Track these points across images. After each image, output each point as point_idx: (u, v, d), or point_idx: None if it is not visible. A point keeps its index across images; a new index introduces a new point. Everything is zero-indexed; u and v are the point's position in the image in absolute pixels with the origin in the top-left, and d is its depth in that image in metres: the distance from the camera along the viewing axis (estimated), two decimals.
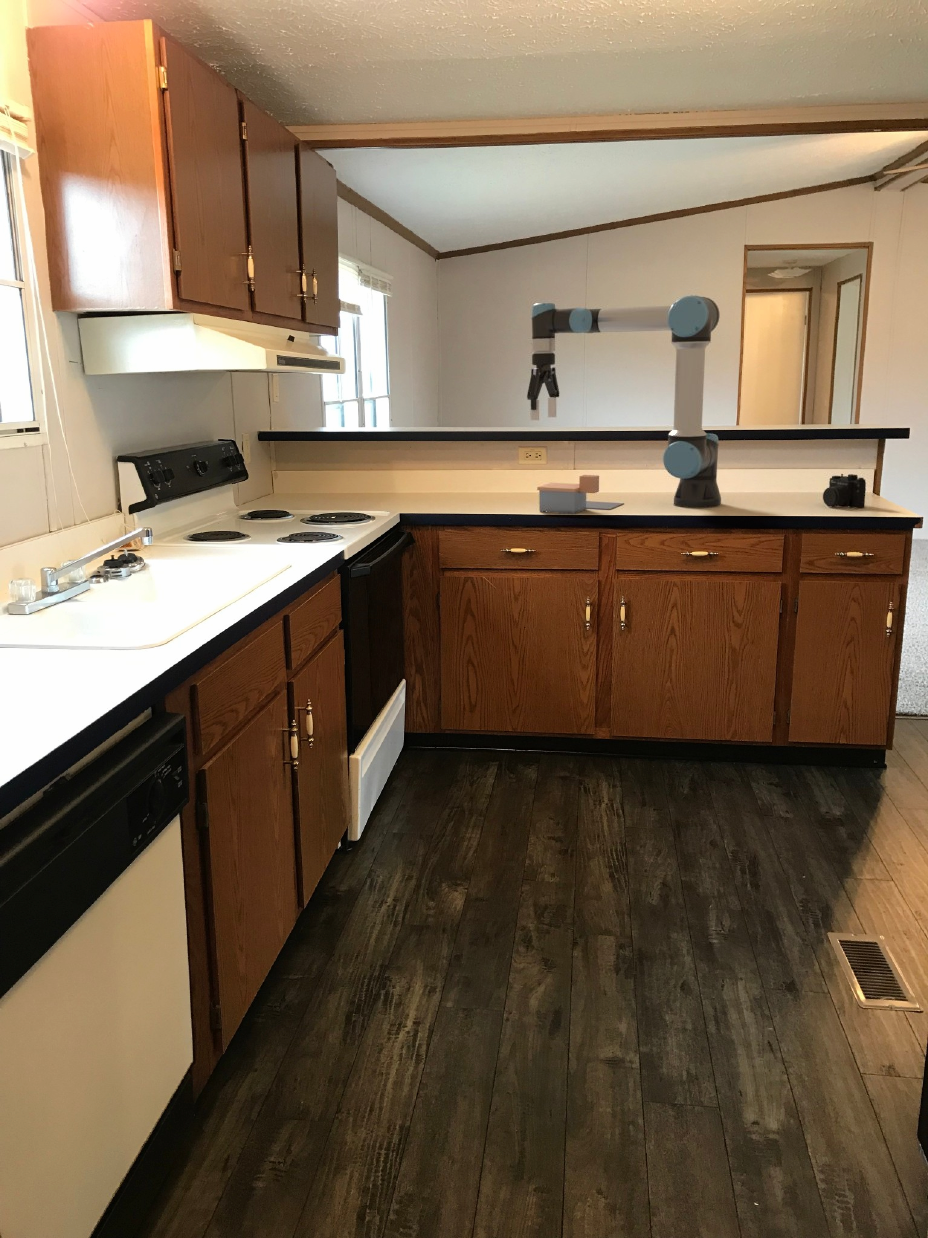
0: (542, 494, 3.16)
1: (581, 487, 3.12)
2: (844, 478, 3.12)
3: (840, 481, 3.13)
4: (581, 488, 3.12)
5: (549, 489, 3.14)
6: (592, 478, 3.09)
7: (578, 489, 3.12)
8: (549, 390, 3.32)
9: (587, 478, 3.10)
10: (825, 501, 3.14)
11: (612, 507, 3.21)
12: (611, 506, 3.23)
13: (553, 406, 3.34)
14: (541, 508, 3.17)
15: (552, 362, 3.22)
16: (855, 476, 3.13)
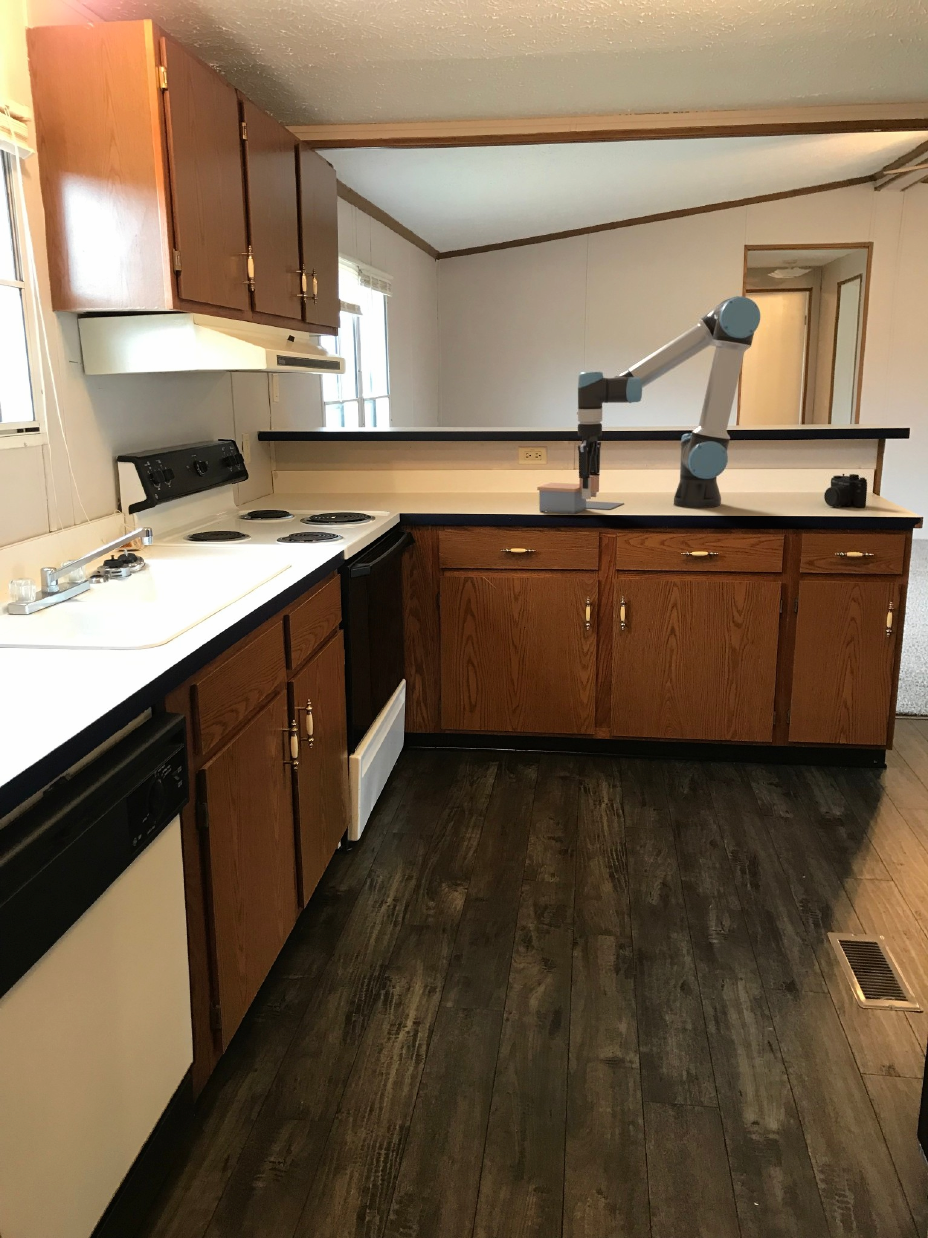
0: (542, 494, 3.16)
1: (581, 487, 3.12)
2: (845, 478, 3.13)
3: (842, 481, 3.14)
4: (581, 488, 3.12)
5: (549, 489, 3.14)
6: (592, 478, 3.09)
7: (578, 489, 3.12)
8: (590, 466, 3.13)
9: None
10: (826, 501, 3.14)
11: (612, 507, 3.21)
12: (611, 506, 3.23)
13: None
14: (541, 508, 3.17)
15: (599, 433, 3.06)
16: (856, 476, 3.13)
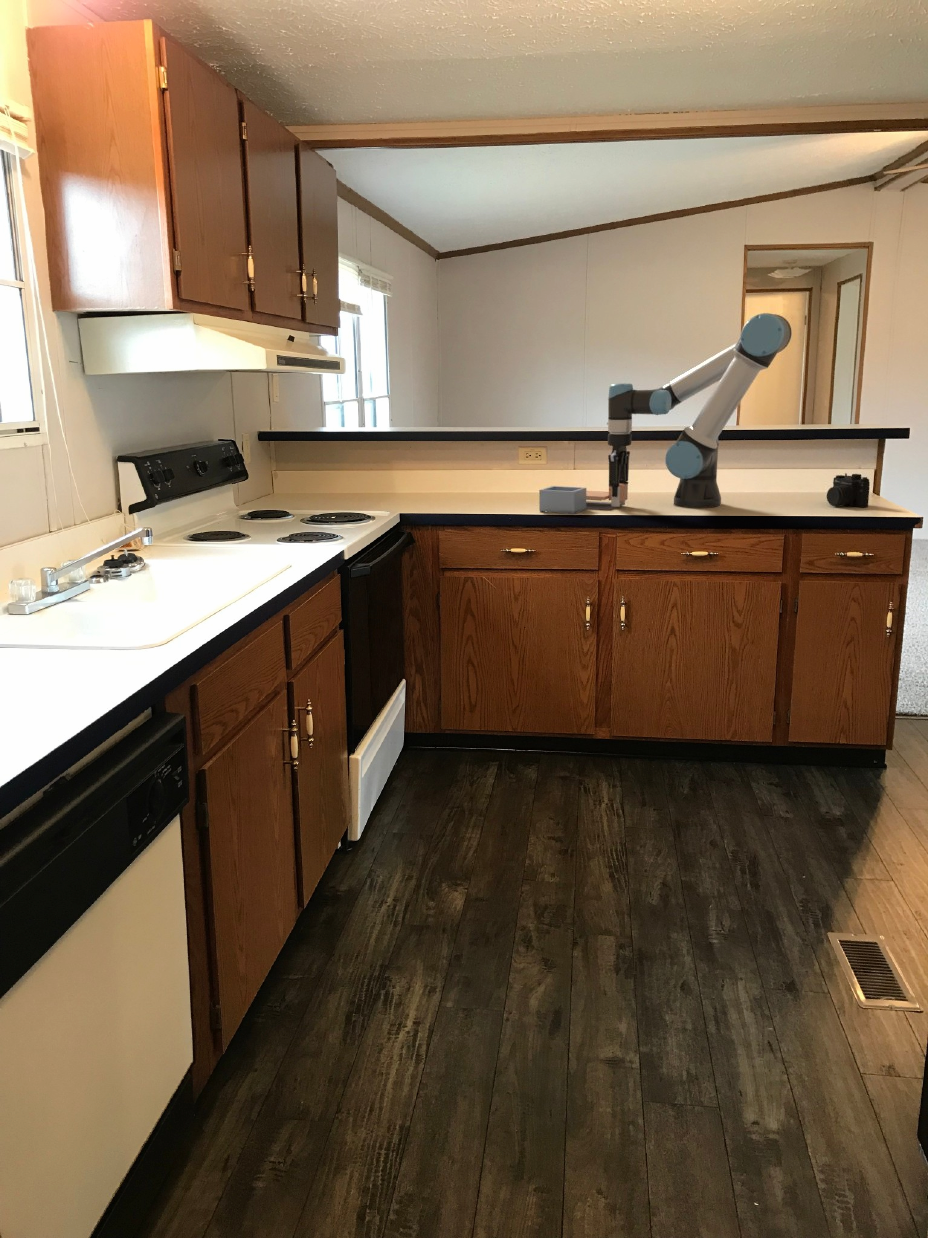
0: (542, 494, 3.16)
1: None
2: (848, 478, 3.13)
3: (844, 480, 3.14)
4: (610, 496, 3.22)
5: None
6: (621, 486, 3.19)
7: (607, 497, 3.21)
8: (620, 474, 3.23)
9: None
10: (829, 500, 3.14)
11: (612, 507, 3.21)
12: (611, 506, 3.23)
13: None
14: (541, 508, 3.17)
15: (629, 443, 3.15)
16: (859, 475, 3.13)
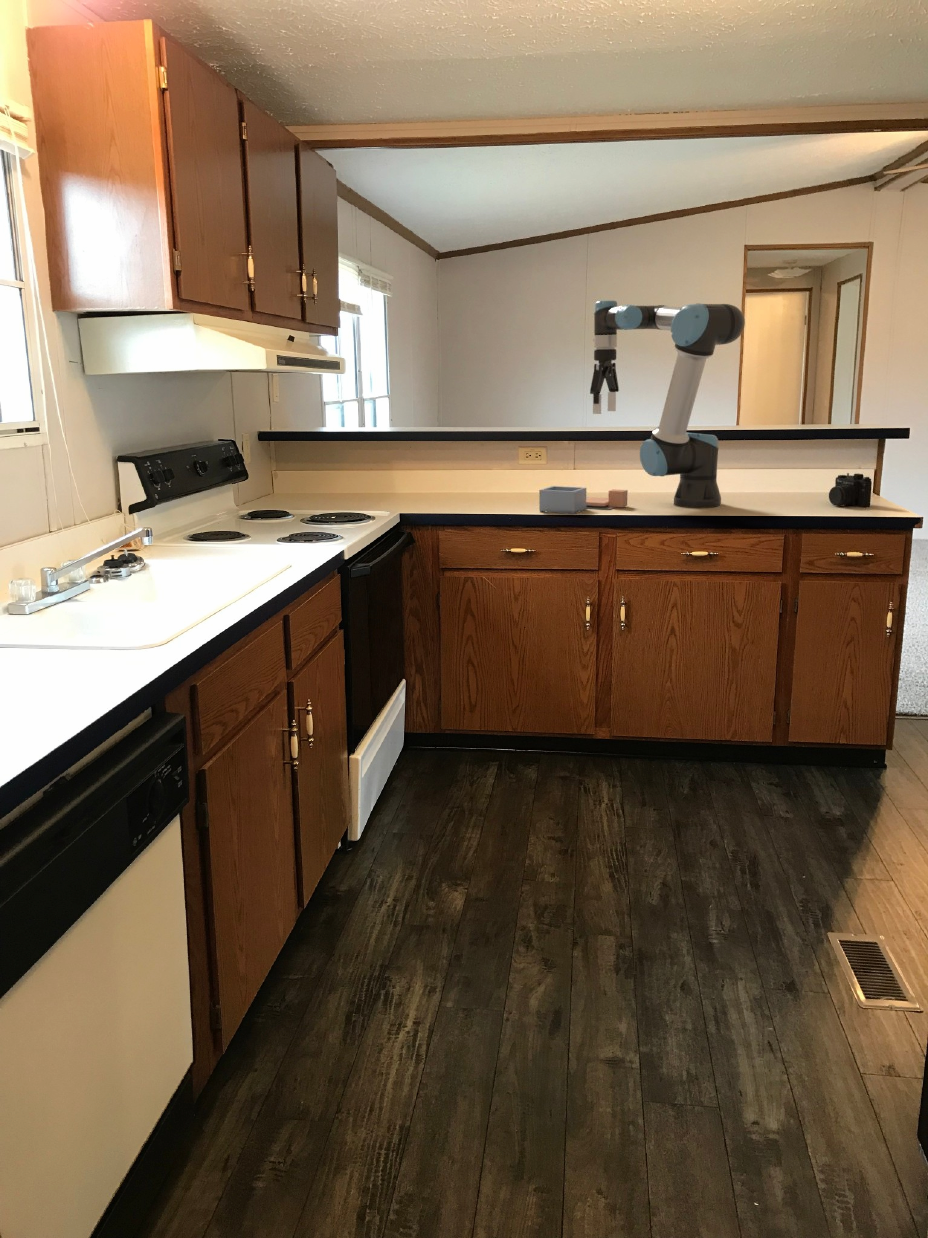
0: (542, 494, 3.16)
1: (610, 501, 3.22)
2: (850, 477, 3.14)
3: (846, 480, 3.15)
4: (610, 502, 3.22)
5: None
6: (621, 493, 3.20)
7: (607, 503, 3.22)
8: (609, 385, 3.43)
9: (616, 493, 3.20)
10: (831, 500, 3.15)
11: (612, 507, 3.21)
12: None
13: (613, 401, 3.45)
14: (541, 508, 3.17)
15: (614, 358, 3.34)
16: (861, 475, 3.14)
